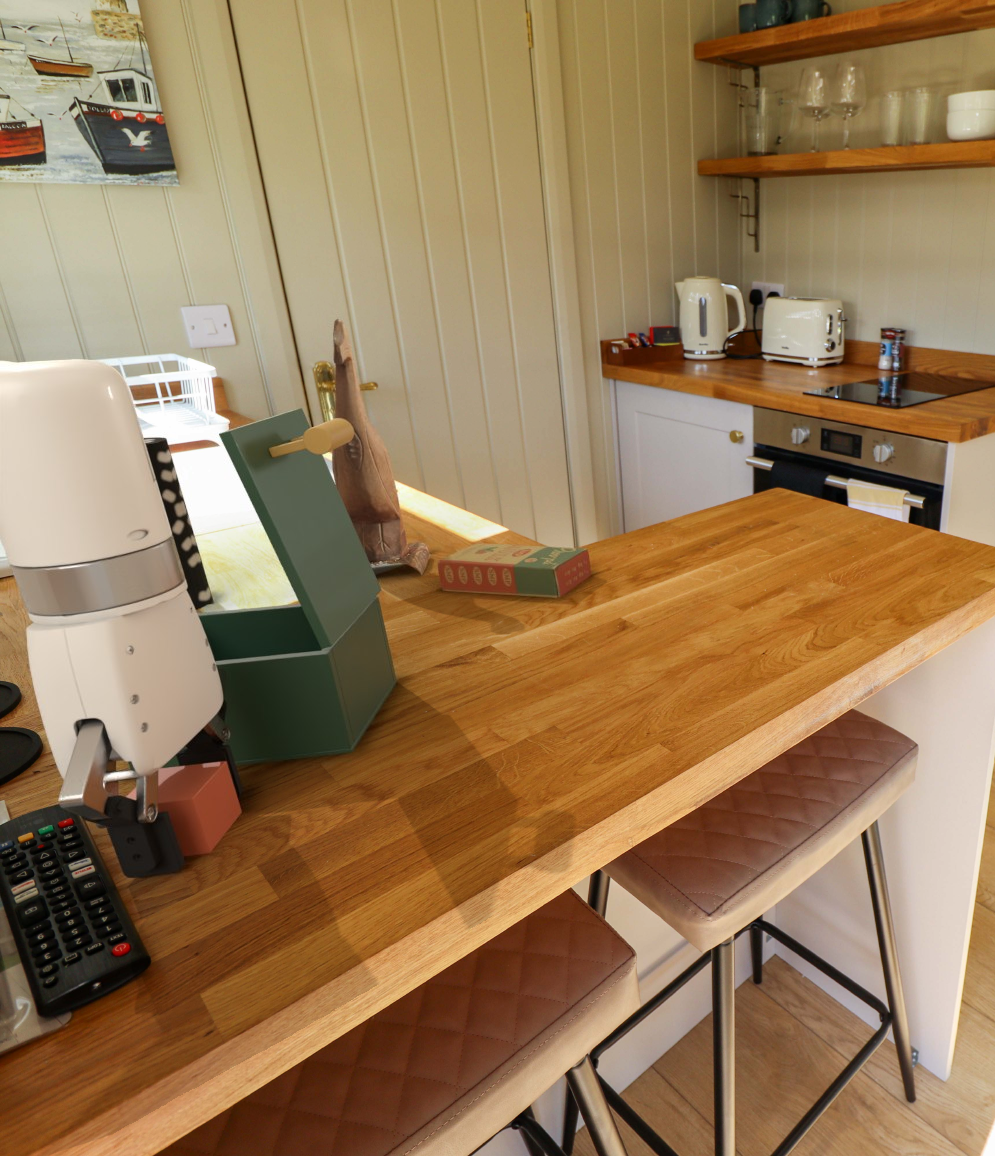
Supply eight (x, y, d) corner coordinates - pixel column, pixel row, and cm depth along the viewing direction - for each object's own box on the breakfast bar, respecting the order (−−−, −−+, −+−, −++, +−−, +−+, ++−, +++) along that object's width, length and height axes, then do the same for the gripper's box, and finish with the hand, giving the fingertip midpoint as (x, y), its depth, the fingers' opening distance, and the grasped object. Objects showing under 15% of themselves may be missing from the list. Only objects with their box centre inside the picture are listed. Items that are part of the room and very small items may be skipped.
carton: (482, 572, 107) (477, 540, 105) (593, 578, 102) (589, 545, 101) (441, 593, 99) (435, 560, 98) (559, 601, 95) (555, 566, 93)
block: (212, 859, 52) (192, 798, 51) (135, 868, 52) (113, 808, 50) (243, 817, 57) (226, 760, 55) (173, 826, 56) (154, 768, 55)
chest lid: (217, 433, 55) (296, 413, 55) (292, 410, 67) (357, 393, 67) (321, 649, 60) (392, 629, 61) (373, 592, 72) (432, 576, 73)
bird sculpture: (329, 592, 102) (265, 322, 91) (343, 566, 112) (287, 321, 102) (425, 579, 105) (374, 317, 94) (430, 554, 115) (384, 316, 105)
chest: (134, 782, 62) (97, 676, 59) (215, 705, 73) (188, 613, 70) (353, 757, 64) (328, 653, 61) (398, 685, 75) (378, 596, 72)
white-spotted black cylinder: (118, 615, 97) (63, 447, 91) (196, 594, 104) (149, 435, 97) (146, 628, 93) (90, 452, 86) (226, 605, 99) (179, 439, 93)
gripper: (122, 543, 56) (194, 769, 62) (-90, 642, 40) (35, 937, 45) (240, 533, 57) (300, 757, 63) (80, 627, 40) (182, 917, 46)
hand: (188, 831), depth 54 cm, fingers open, 7 cm apart
